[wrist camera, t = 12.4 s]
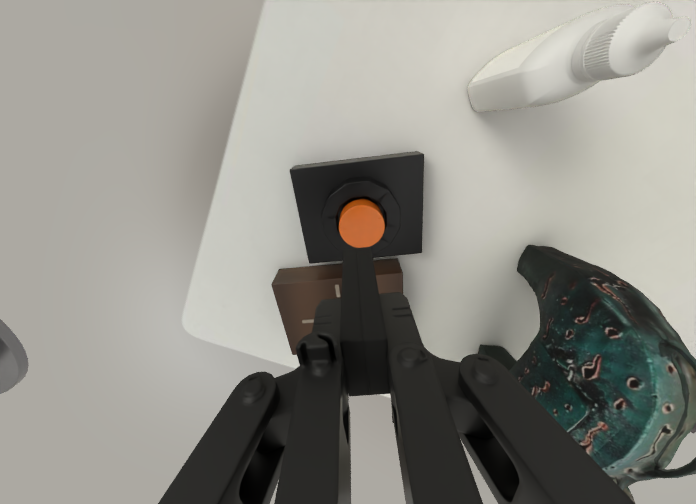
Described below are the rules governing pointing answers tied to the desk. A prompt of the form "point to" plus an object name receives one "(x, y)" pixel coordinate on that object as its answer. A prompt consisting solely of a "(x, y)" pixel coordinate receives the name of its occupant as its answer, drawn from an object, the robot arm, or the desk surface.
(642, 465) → the ceramic cat
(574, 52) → the eye dropper bottle
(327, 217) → the button box
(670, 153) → the desk surface
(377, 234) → the button
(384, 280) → the panel
